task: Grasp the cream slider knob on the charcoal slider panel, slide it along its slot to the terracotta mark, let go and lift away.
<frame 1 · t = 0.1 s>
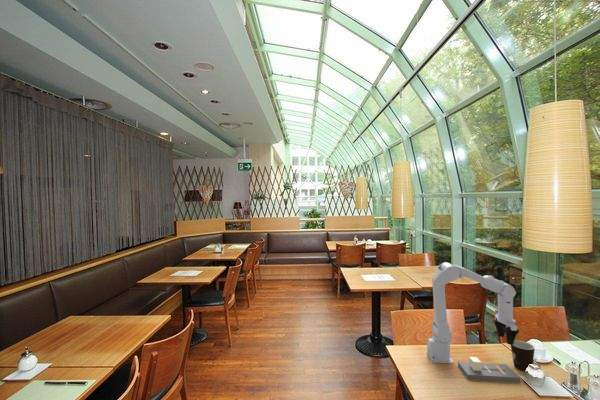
hand: (505, 340, 137), 10 cm above the table, tool pointing down, fingers open, 7 cm apart
coffee mug: (522, 367, 133), on the table
slider knob: (475, 363, 128), point 4 cm above the table, slide at -5.0 cm
slider panel: (487, 374, 128), on the table
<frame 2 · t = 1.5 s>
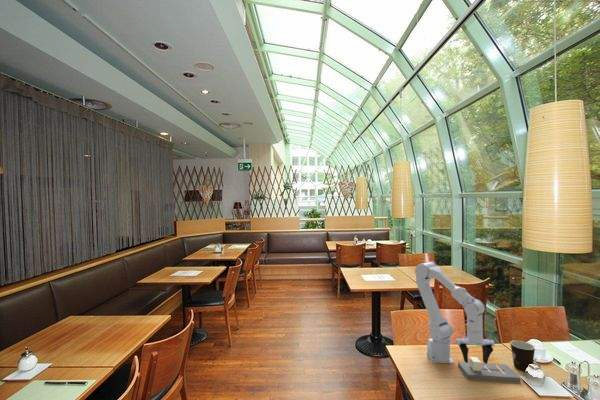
hand: (475, 362, 128), 5 cm above the table, tool pointing down, fingers open, 7 cm apart
nothing on the table moved.
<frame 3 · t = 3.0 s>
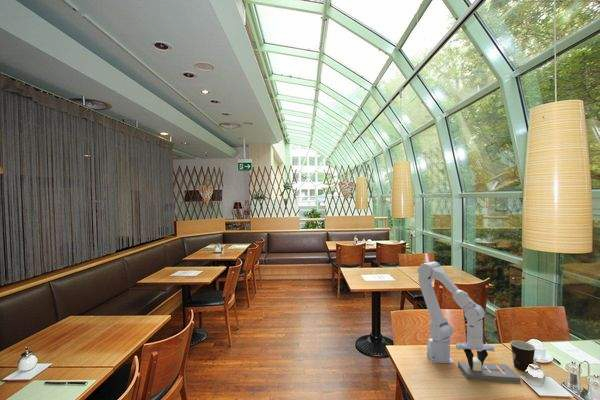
hand: (475, 367, 128), 3 cm above the table, tool pointing down, fingers closed on slider knob, 3 cm apart
slider knob: (475, 363, 128), point 4 cm above the table, slide at -5.0 cm, touching gripper
everything else where it was.
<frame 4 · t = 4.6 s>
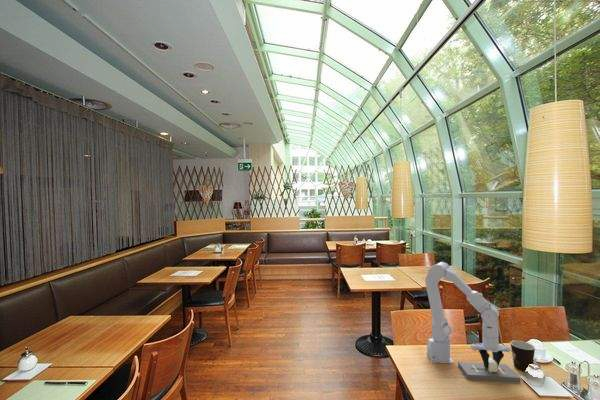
hand: (490, 367, 128), 3 cm above the table, tool pointing down, fingers closed on slider knob, 3 cm apart
slider knob: (490, 364, 128), point 4 cm above the table, slide at 1.1 cm, touching gripper
everything else where it was.
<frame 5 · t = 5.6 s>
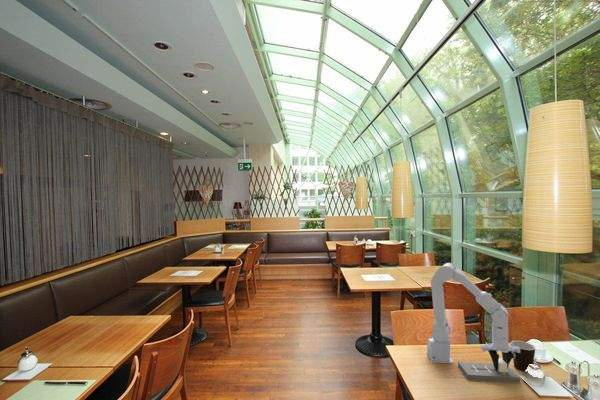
hand: (500, 368, 127), 3 cm above the table, tool pointing down, fingers closed on slider knob, 3 cm apart
slider knob: (500, 365, 127), point 4 cm above the table, slide at 5.0 cm, touching gripper
everything else where it was.
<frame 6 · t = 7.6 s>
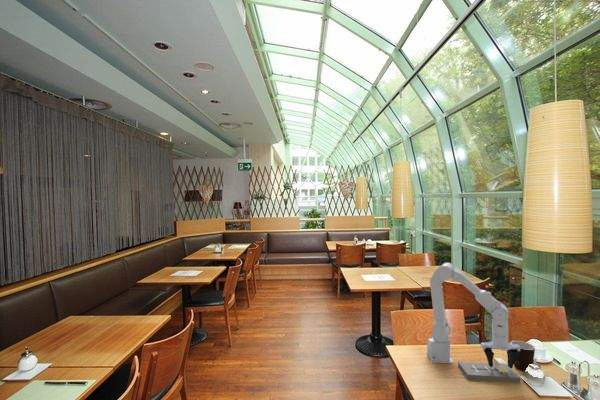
hand: (500, 366, 127), 3 cm above the table, tool pointing down, fingers open, 7 cm apart
slider knob: (500, 365, 127), point 4 cm above the table, slide at 5.0 cm
everything else where it was.
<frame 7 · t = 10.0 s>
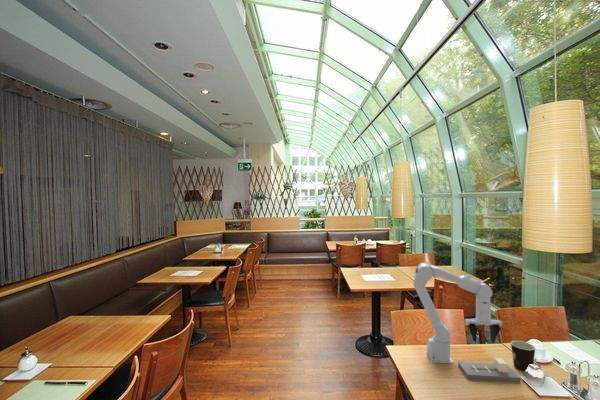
hand: (483, 341, 136), 10 cm above the table, tool pointing down, fingers open, 7 cm apart
nothing on the table moved.
at the end: slider knob slide at 5.0 cm; the gripper is holding nothing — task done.
